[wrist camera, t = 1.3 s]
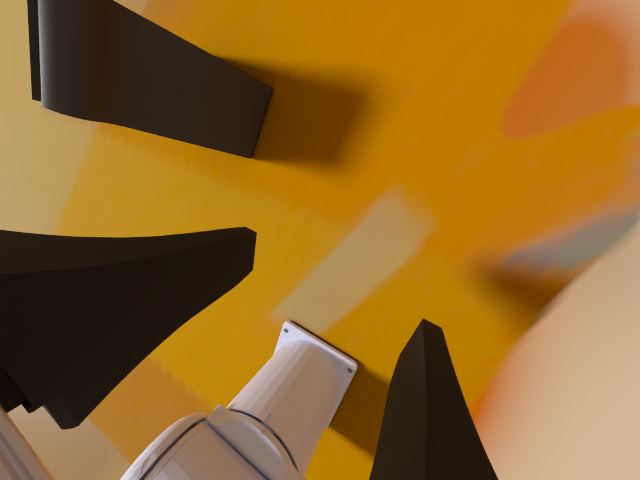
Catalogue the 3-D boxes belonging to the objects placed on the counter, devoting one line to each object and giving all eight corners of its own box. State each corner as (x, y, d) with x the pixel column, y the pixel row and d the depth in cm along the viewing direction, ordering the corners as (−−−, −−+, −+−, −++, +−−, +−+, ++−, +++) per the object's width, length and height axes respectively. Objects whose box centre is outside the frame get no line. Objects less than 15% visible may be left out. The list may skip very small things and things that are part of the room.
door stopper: (275, 89, 20) (93, -17, 9) (252, 159, 22) (86, 140, 12) (198, 52, 22) (-20, -69, 11) (185, 119, 24) (-6, 72, 14)
